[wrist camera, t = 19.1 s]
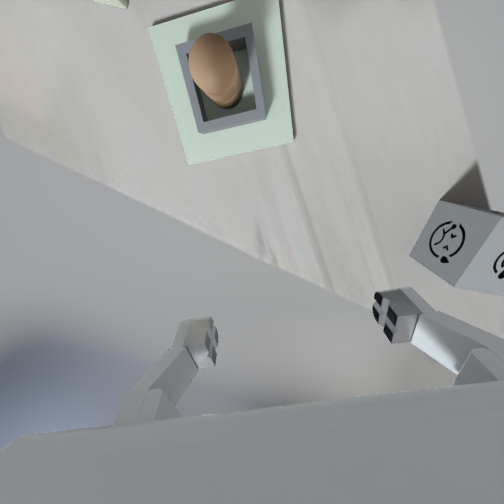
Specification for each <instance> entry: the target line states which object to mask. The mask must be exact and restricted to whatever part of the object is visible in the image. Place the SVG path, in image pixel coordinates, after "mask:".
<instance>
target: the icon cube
mask: <svg viewBox="0 0 504 504" xmlns="http://www.w3.org/2000/svg"><path fill="white" fill-rule="evenodd" d="M409 256H410V257H412V258H413V259H415V260H416V261H417V262H419V263H420V264H422V265H423V266H425V267H426V268H427V269H429V270H430V271H432V272H433V273H434V274H436V275H437V276H439V277H440V278H442V279H443V280H444V281H446V282H447V283H449V284H450V285H451V286H453V287H456V288H461V289H467V290H472V291H478V292H483V293H489V294H494V295H500V296H504V213H502V212H498V211H493V210H487V209H482V208H477V207H472V206H467V205H462V204H457V203H452V202H446V201H441V200H439V202H438V203H437V205H436V207H435V209H434V211H433V213H432V214H431V216H430V218H429V220H428V222H427V224H426V225H425V227H424V229H423V231H422V233H421V235H420V237H419V238H418V240H417V242H416V244H415V246H414V248H413V249H412V251H411V253H410V255H409Z"/></svg>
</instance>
